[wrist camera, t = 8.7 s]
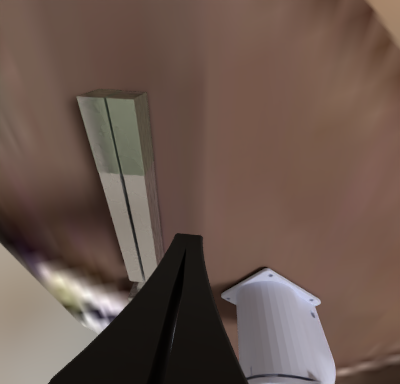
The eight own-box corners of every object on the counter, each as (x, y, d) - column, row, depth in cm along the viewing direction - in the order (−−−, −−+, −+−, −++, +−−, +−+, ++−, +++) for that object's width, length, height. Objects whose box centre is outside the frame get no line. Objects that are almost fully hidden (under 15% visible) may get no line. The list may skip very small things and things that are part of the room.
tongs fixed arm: (172, 291, 28) (167, 314, 25) (140, 287, 28) (132, 310, 26) (155, 91, 14) (140, 101, 11) (91, 88, 14) (63, 97, 12)
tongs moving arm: (166, 277, 26) (161, 296, 24) (144, 275, 26) (138, 294, 24) (146, 91, 14) (133, 99, 12) (105, 89, 14) (85, 96, 12)
